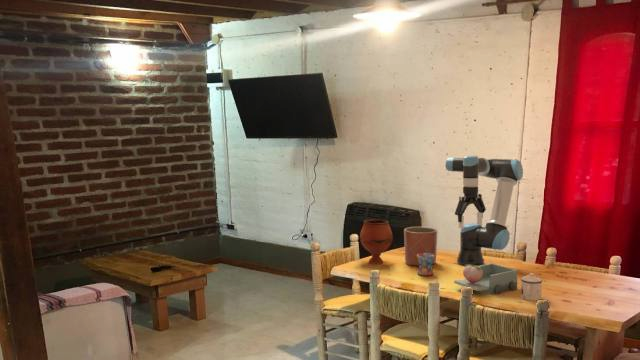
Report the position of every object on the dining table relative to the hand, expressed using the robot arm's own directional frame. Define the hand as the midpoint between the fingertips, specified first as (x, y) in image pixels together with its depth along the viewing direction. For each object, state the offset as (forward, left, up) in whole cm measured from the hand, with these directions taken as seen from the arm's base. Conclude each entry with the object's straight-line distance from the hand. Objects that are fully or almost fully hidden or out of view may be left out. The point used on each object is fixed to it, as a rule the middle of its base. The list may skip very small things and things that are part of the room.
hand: (470, 226), depth 271 cm
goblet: (+22, -53, -28) cm, 63 cm away
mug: (+13, -19, -28) cm, 36 cm away
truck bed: (+2, +16, -28) cm, 32 cm away
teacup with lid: (+1, +38, -28) cm, 47 cm away
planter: (+1, -38, -28) cm, 47 cm away
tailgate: (+12, +16, -25) cm, 32 cm away
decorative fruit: (+15, +16, -24) cm, 33 cm away
